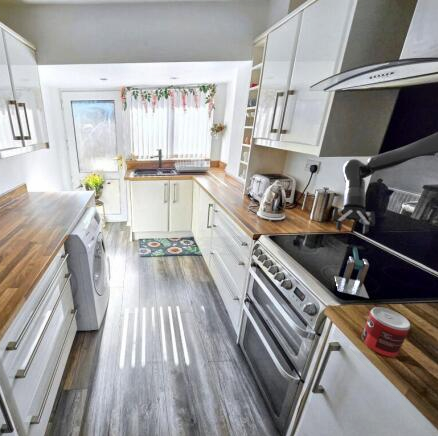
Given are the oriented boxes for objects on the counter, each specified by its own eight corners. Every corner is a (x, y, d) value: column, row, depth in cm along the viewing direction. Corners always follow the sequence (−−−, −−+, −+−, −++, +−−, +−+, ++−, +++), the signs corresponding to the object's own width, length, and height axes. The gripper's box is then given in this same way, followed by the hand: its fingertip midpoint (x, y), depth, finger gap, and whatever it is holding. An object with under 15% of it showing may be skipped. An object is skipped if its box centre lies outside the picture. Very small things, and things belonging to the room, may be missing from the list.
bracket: (333, 278, 100) (341, 251, 96) (361, 284, 96) (371, 256, 91) (337, 293, 91) (346, 264, 87) (368, 300, 87) (379, 270, 82)
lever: (345, 247, 99) (347, 242, 97) (361, 249, 96) (363, 245, 95) (348, 267, 91) (350, 263, 89) (365, 271, 88) (368, 266, 87)
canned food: (371, 332, 74) (382, 304, 70) (403, 353, 67) (418, 323, 63) (353, 339, 72) (364, 310, 68) (385, 362, 65) (399, 331, 61)
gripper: (371, 205, 108) (370, 238, 103) (332, 201, 114) (329, 232, 109) (378, 196, 101) (377, 231, 96) (336, 193, 108) (333, 225, 103)
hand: (351, 231), depth 103 cm, fingers open, 8 cm apart
